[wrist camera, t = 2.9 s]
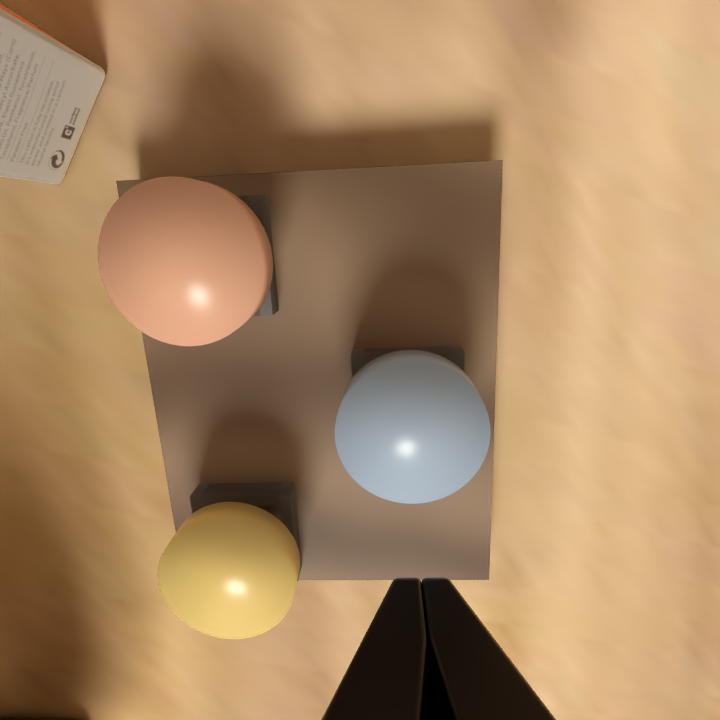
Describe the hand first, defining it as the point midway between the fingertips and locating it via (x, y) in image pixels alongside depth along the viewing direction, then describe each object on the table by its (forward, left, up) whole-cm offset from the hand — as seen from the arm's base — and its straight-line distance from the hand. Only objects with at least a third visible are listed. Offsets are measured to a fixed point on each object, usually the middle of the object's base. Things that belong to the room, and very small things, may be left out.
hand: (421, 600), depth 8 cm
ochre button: (-5, +6, -8) cm, 11 cm away
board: (0, +3, -11) cm, 11 cm away
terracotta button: (+5, +6, -9) cm, 11 cm away
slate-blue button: (0, 0, -9) cm, 9 cm away
